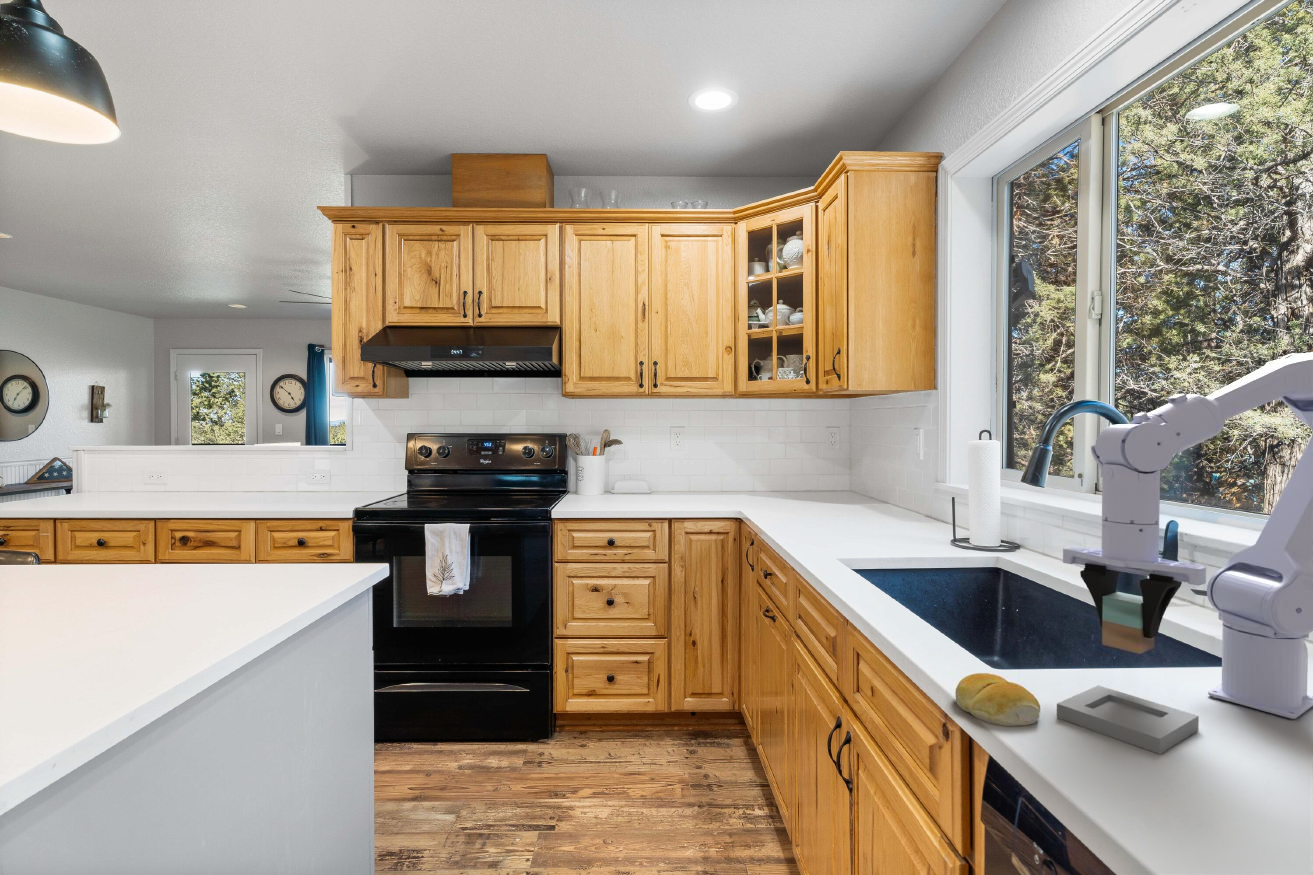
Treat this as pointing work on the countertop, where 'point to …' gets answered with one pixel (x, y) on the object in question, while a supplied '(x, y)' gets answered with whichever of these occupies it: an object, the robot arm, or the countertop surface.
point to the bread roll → (997, 700)
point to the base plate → (1128, 718)
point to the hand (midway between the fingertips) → (1128, 631)
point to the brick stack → (1124, 623)
